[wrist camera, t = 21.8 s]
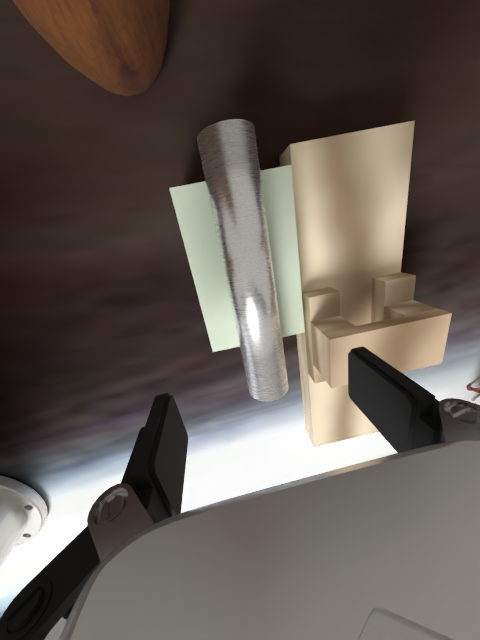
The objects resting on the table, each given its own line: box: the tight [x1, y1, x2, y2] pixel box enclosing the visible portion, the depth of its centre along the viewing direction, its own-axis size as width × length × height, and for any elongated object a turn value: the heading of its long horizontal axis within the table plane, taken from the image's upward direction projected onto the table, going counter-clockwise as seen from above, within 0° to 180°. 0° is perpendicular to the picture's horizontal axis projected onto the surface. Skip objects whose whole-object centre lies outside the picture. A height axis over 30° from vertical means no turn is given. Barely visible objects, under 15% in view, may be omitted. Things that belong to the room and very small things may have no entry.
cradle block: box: [169, 165, 305, 352], centre depth 17 cm, size 7×11×4 cm, turn 10°
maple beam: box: [279, 121, 452, 446], centre depth 19 cm, size 8×28×7 cm, turn 10°
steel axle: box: [197, 119, 288, 402], centre depth 14 cm, size 16×3×3 cm, turn 10°
